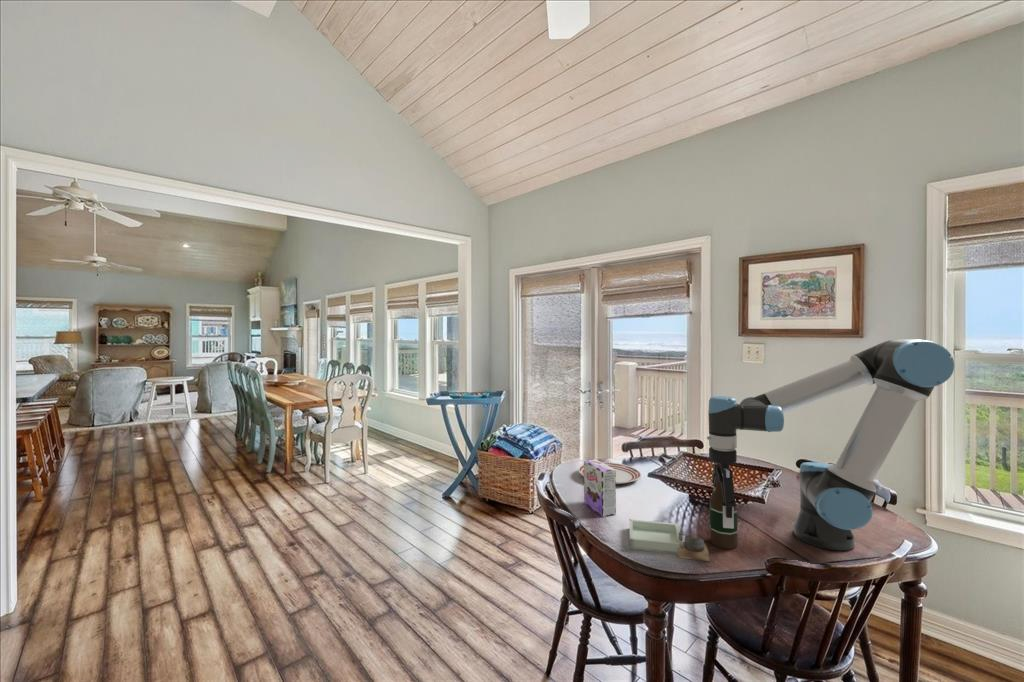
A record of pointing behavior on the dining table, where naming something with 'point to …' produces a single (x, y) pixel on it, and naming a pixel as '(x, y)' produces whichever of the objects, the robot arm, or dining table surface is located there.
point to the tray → (654, 536)
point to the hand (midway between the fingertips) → (723, 518)
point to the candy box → (600, 487)
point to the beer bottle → (721, 521)
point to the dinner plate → (620, 472)
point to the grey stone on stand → (693, 548)
